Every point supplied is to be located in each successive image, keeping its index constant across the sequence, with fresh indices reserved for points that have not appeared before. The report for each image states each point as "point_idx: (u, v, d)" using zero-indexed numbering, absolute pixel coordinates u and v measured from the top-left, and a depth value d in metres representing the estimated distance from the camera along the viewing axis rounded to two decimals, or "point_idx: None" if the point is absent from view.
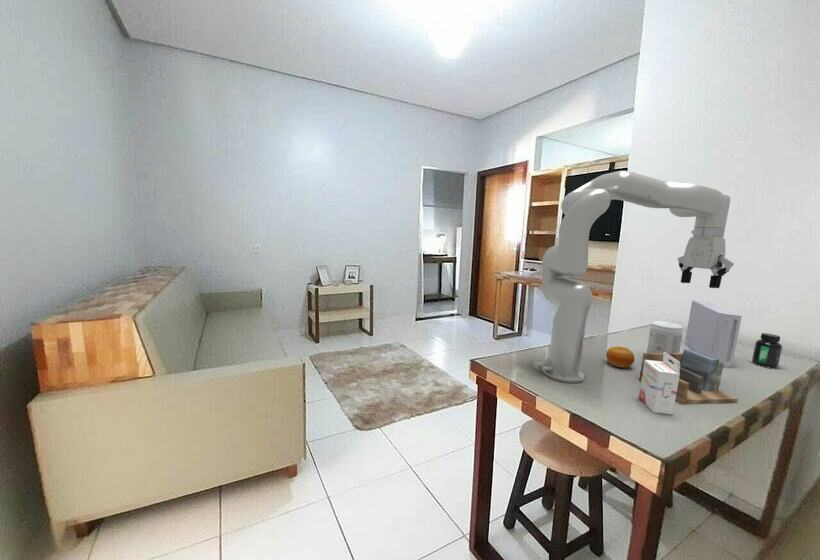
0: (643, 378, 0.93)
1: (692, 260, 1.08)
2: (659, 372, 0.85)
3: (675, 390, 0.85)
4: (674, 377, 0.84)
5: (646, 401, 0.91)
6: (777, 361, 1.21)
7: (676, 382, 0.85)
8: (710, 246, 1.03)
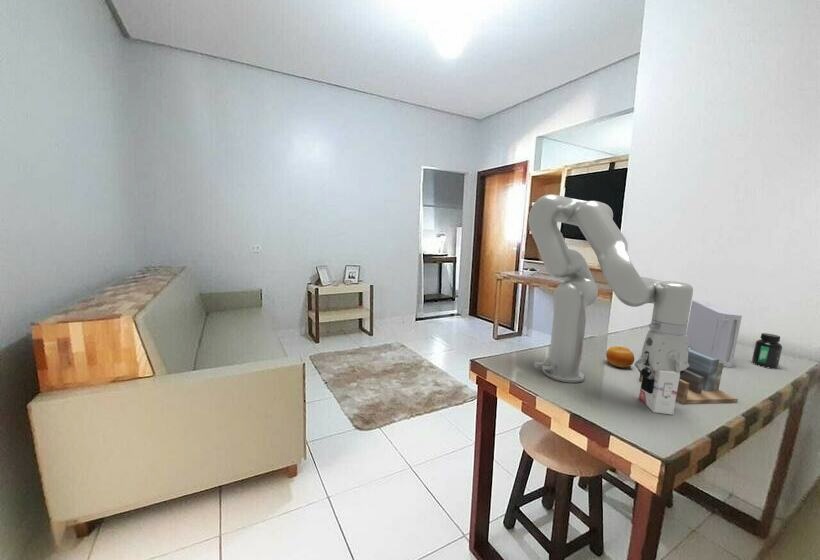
0: None
1: (668, 363, 0.85)
2: (659, 372, 0.85)
3: (675, 390, 0.85)
4: (675, 377, 0.84)
5: (646, 401, 0.91)
6: (777, 361, 1.21)
7: (676, 382, 0.85)
8: (686, 345, 0.85)
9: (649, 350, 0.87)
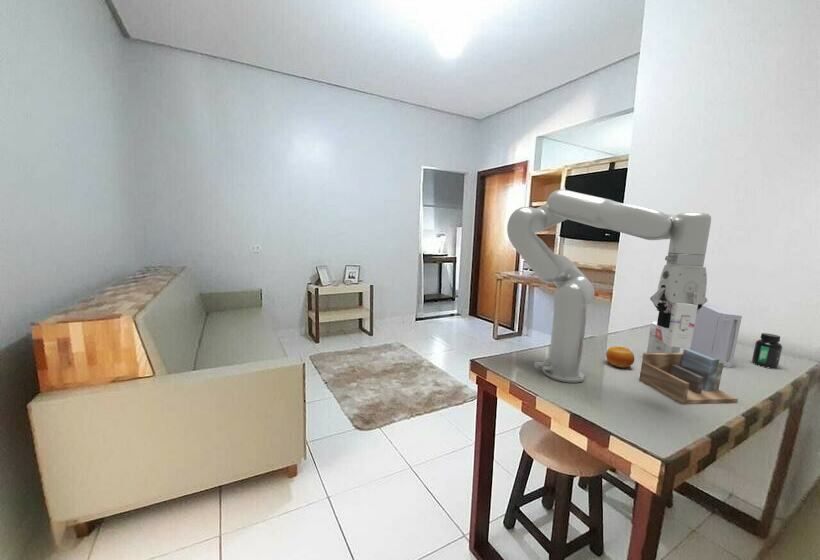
0: None
1: (685, 296, 0.84)
2: (676, 304, 0.84)
3: (693, 322, 0.84)
4: (692, 309, 0.83)
5: (662, 338, 0.89)
6: (777, 361, 1.21)
7: (694, 314, 0.83)
8: (704, 278, 0.84)
9: (665, 283, 0.86)
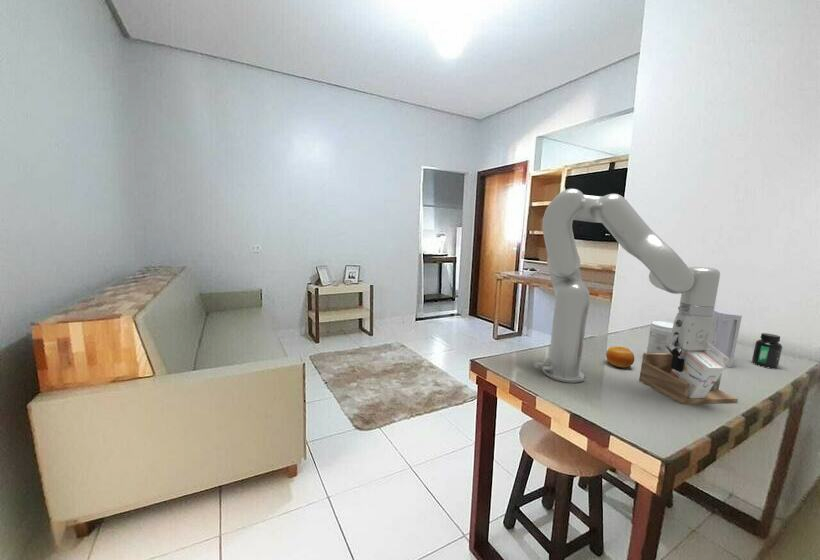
0: None
1: (696, 343, 0.92)
2: (709, 368, 0.87)
3: (715, 380, 0.90)
4: (719, 371, 0.88)
5: None
6: (777, 361, 1.21)
7: (719, 374, 0.89)
8: (713, 326, 0.92)
9: (679, 331, 0.93)
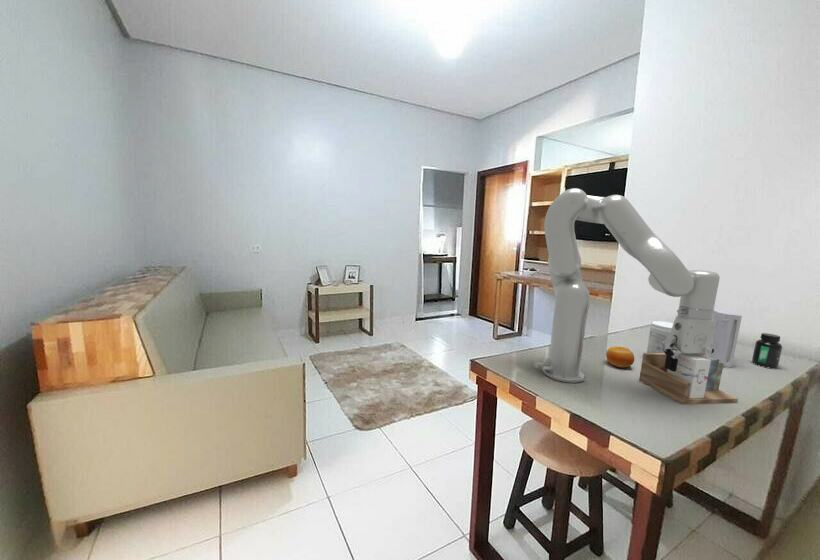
0: None
1: (695, 346, 0.92)
2: (695, 360, 0.91)
3: (707, 375, 0.92)
4: (707, 364, 0.91)
5: None
6: (777, 361, 1.21)
7: (708, 368, 0.92)
8: (712, 330, 0.92)
9: (677, 334, 0.93)
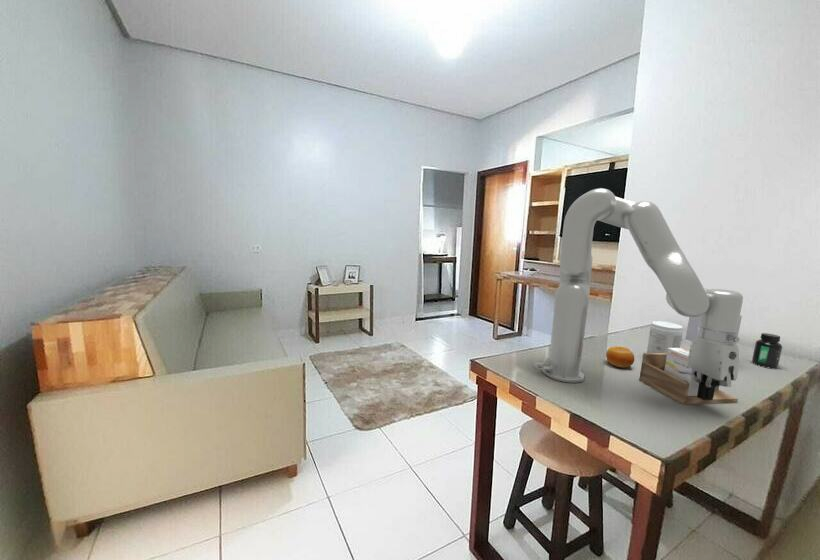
0: (667, 365, 1.00)
1: None
2: None
3: None
4: None
5: None
6: (777, 361, 1.21)
7: None
8: None
9: (733, 364, 0.84)
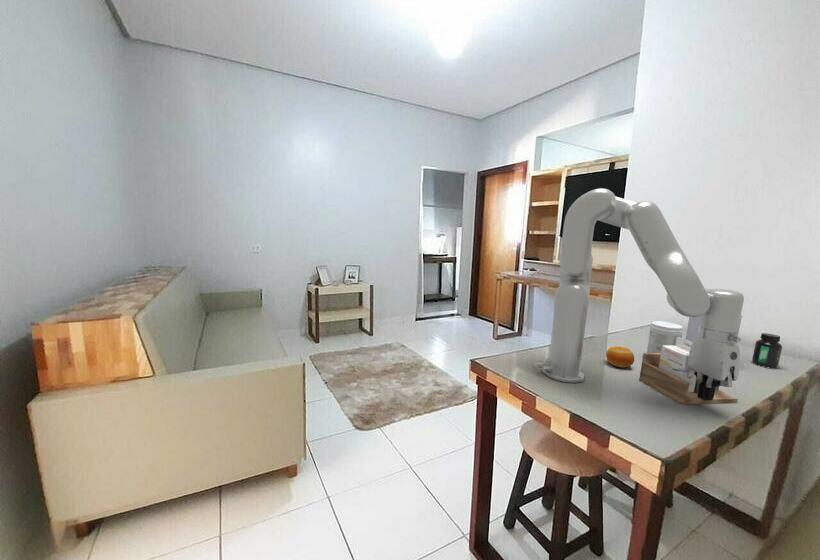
0: (661, 362, 1.02)
1: None
2: (686, 356, 0.94)
3: None
4: None
5: None
6: (777, 361, 1.21)
7: None
8: None
9: (734, 364, 0.84)
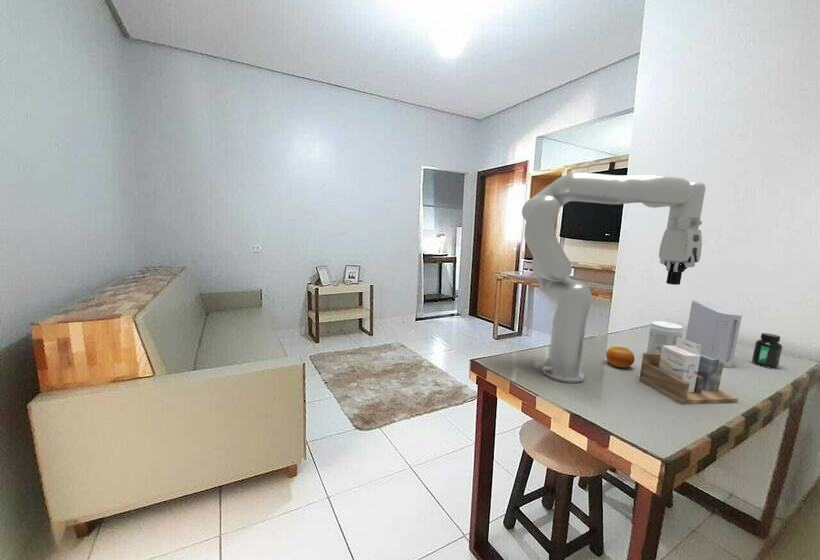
0: (661, 362, 1.02)
1: None
2: (686, 356, 0.94)
3: (696, 370, 0.95)
4: (697, 359, 0.95)
5: None
6: (777, 361, 1.21)
7: (698, 363, 0.95)
8: None
9: (697, 245, 0.95)
